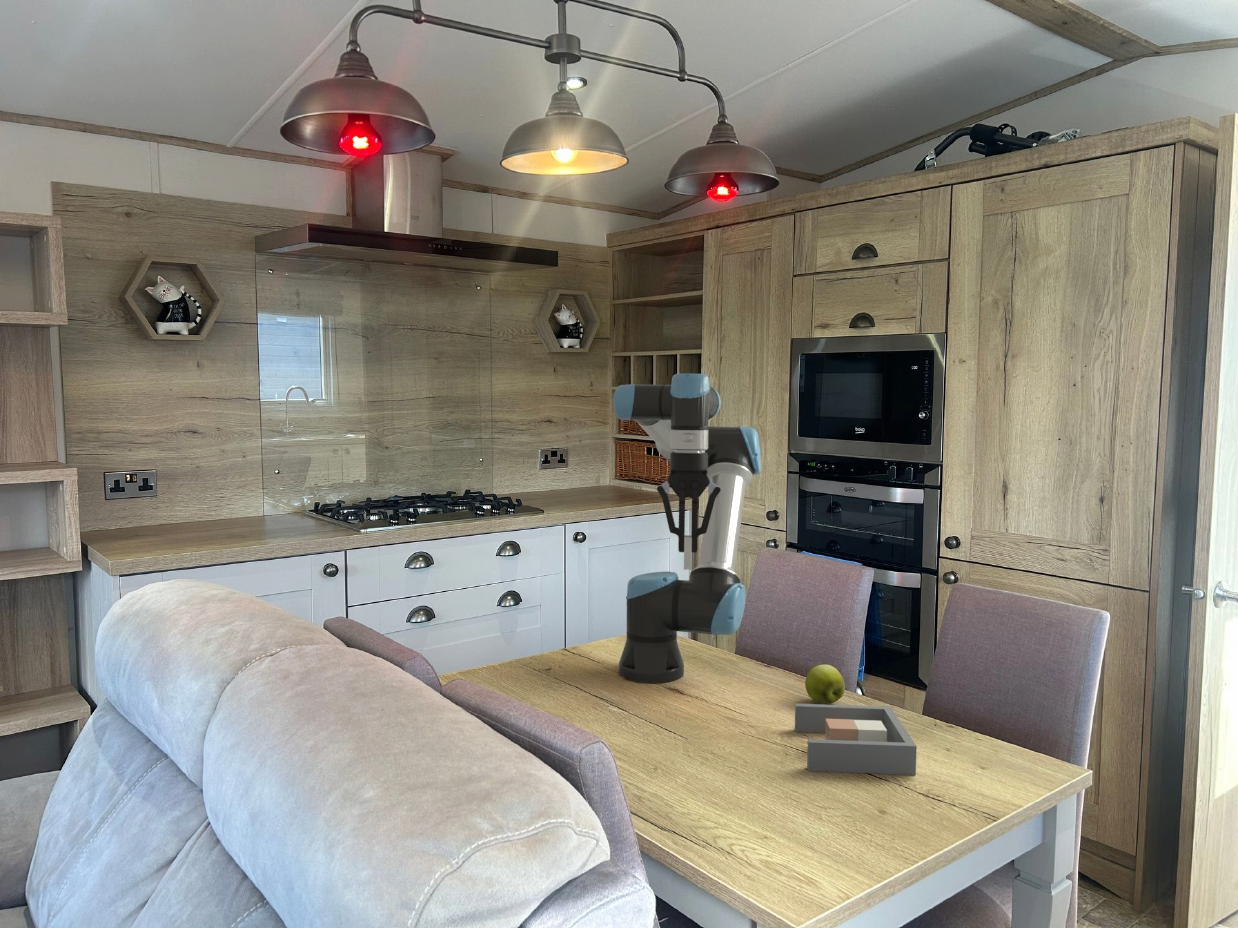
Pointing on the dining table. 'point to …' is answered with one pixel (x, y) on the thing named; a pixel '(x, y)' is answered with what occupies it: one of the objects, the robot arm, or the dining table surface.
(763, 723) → the dining table surface
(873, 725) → the tile
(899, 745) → the box
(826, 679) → the apple
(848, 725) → the tile
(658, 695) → the dining table surface
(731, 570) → the robot arm
